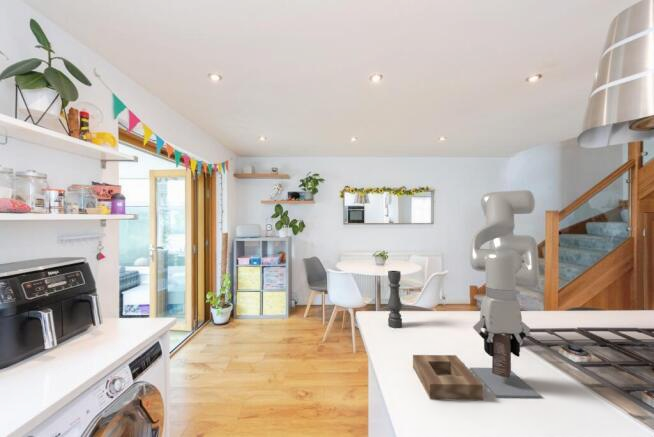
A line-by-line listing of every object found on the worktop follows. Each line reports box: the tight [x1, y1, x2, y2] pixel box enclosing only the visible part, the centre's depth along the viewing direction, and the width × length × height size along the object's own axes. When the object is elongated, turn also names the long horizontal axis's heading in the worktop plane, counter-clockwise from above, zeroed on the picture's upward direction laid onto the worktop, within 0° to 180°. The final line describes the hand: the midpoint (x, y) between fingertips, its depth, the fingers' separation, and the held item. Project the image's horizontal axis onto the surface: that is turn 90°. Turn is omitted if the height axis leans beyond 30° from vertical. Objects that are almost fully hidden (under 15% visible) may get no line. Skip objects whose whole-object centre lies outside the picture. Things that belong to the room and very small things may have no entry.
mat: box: [469, 367, 543, 399], centre depth 79 cm, size 12×14×1 cm
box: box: [491, 334, 512, 379], centre depth 79 cm, size 6×4×12 cm
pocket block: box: [412, 354, 484, 401], centre depth 79 cm, size 14×16×4 cm
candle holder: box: [387, 270, 403, 329], centre depth 124 cm, size 6×6×25 cm
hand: (501, 353), depth 79 cm, fingers closed on box, 6 cm apart
